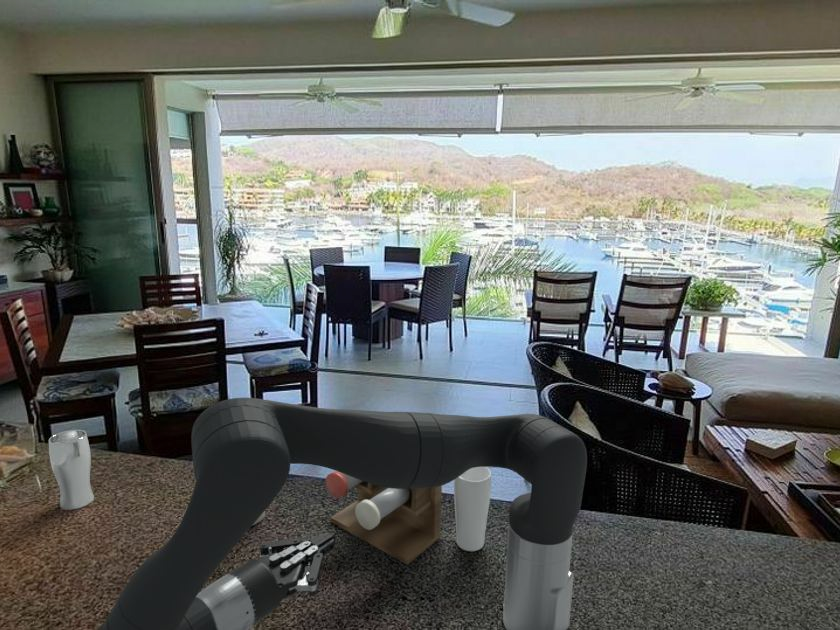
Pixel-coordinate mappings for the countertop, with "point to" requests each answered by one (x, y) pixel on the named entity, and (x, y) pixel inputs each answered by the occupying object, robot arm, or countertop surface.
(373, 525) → the ivory button
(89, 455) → the beer glass
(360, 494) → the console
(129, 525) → the countertop surface
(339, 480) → the red button
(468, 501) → the drinking glass
